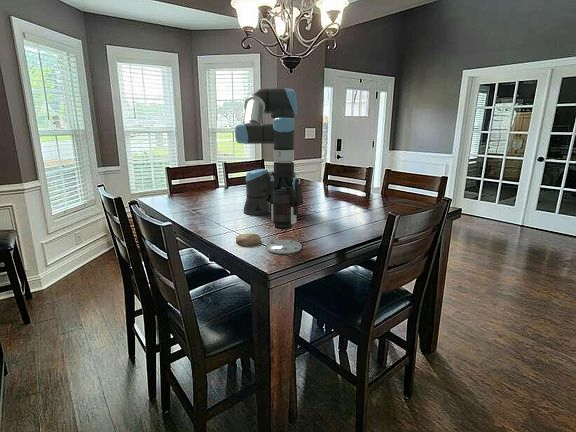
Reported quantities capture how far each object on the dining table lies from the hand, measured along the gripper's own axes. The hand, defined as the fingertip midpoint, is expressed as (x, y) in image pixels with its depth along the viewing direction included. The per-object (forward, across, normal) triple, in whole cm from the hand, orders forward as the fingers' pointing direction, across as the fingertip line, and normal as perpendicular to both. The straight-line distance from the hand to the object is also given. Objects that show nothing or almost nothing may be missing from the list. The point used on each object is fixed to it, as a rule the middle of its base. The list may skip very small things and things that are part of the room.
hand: (283, 221), depth 130 cm
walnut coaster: (+11, -16, -2) cm, 20 cm away
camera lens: (+2, 0, 0) cm, 2 cm away
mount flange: (+11, 0, 0) cm, 11 cm away
